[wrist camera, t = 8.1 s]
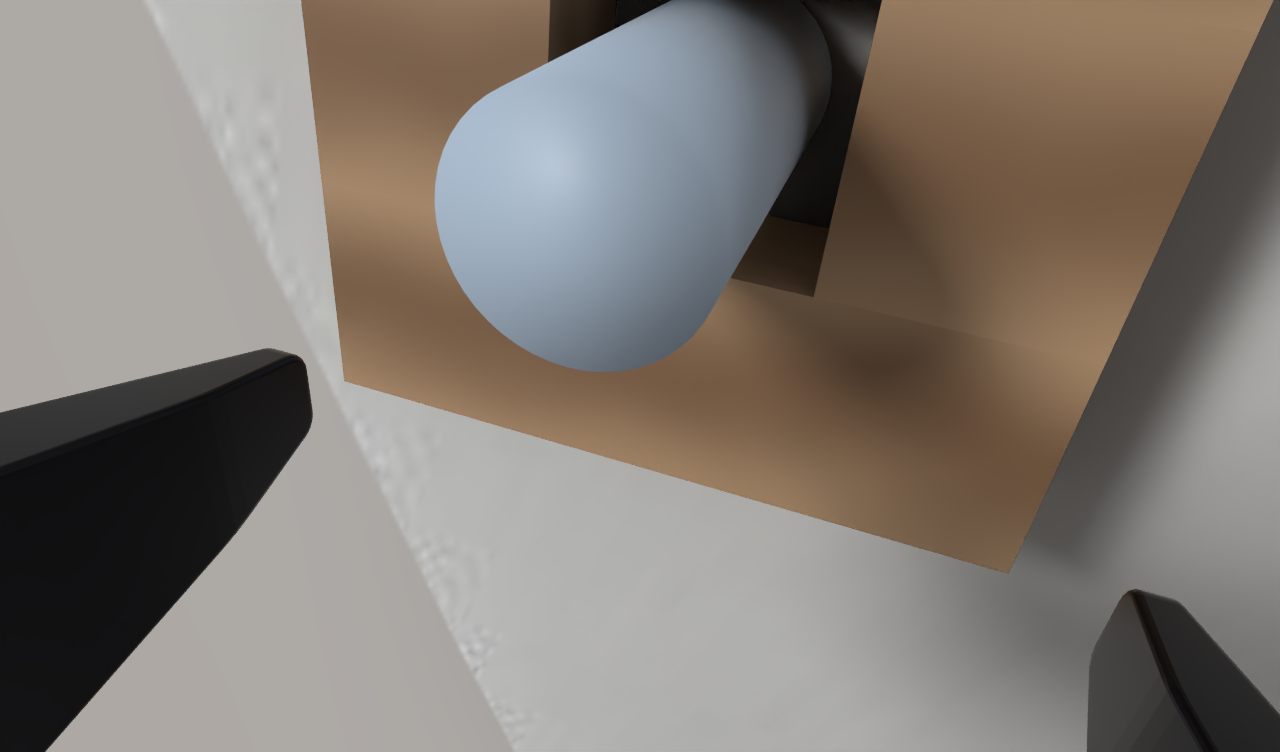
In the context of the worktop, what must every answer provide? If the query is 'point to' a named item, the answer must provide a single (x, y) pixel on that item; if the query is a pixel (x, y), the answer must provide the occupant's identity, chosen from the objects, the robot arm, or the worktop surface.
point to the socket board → (813, 253)
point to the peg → (630, 177)
